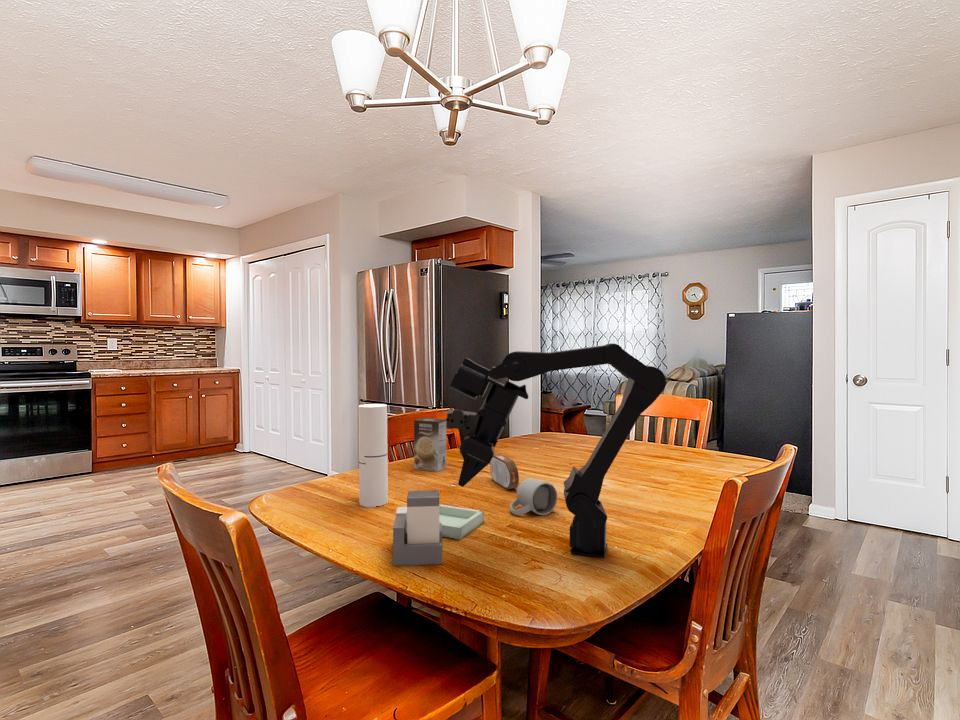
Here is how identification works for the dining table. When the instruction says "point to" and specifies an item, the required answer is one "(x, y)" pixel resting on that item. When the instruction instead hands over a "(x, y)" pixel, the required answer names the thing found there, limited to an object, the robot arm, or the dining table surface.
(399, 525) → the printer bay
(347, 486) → the dining table surface
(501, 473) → the tin
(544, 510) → the ceramic mug
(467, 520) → the tray
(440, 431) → the coffee box
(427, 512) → the block
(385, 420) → the cylindrical container
